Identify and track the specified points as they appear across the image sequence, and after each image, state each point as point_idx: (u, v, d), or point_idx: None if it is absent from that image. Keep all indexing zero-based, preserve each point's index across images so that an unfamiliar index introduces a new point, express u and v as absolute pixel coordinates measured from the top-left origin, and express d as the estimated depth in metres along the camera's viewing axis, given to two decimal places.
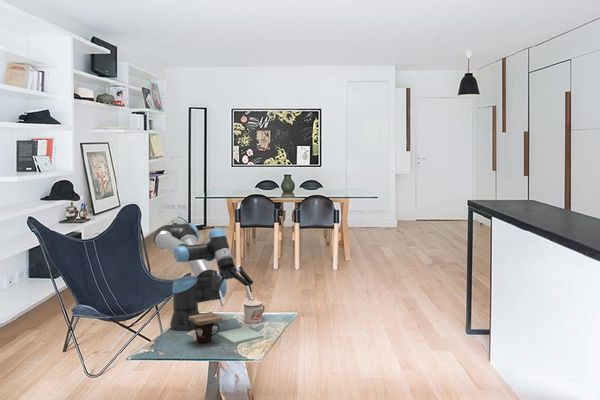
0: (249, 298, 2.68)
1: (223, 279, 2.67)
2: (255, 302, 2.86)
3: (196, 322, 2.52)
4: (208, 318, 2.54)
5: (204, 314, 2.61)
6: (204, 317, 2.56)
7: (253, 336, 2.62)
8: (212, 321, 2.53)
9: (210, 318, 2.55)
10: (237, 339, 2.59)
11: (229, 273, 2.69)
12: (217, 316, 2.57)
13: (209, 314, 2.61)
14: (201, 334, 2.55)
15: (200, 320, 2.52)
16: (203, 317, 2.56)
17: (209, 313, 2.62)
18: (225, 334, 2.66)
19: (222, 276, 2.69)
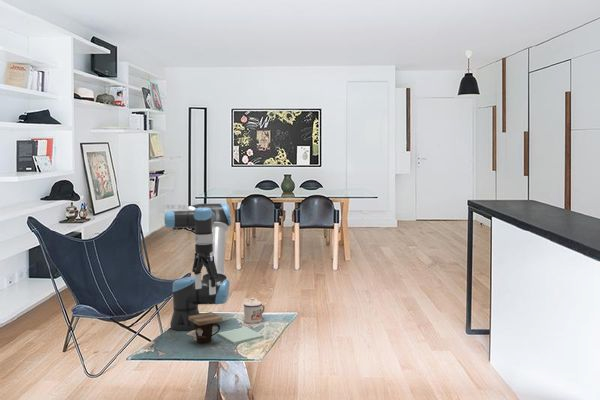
0: None
1: (198, 264, 2.58)
2: (255, 302, 2.86)
3: (196, 322, 2.52)
4: (208, 318, 2.54)
5: (204, 314, 2.61)
6: (204, 317, 2.56)
7: (253, 336, 2.62)
8: (212, 321, 2.53)
9: (210, 318, 2.55)
10: (237, 339, 2.59)
11: None
12: (217, 316, 2.57)
13: (209, 314, 2.61)
14: (201, 334, 2.55)
15: (200, 320, 2.52)
16: (203, 317, 2.56)
17: (209, 313, 2.62)
18: (225, 334, 2.66)
19: None
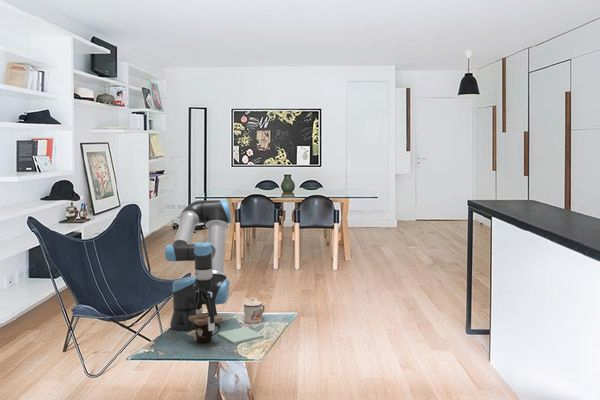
0: None
1: (198, 299, 2.59)
2: (255, 302, 2.86)
3: (196, 322, 2.52)
4: None
5: (204, 314, 2.61)
6: (204, 317, 2.56)
7: (253, 336, 2.62)
8: None
9: None
10: (237, 339, 2.59)
11: None
12: (217, 316, 2.57)
13: None
14: (201, 334, 2.55)
15: (200, 320, 2.52)
16: (203, 317, 2.56)
17: None
18: (225, 334, 2.66)
19: None
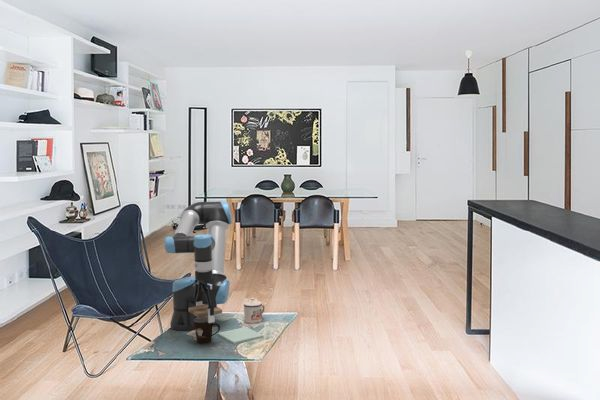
0: None
1: (198, 291, 2.58)
2: (255, 302, 2.86)
3: (196, 314, 2.52)
4: (207, 311, 2.54)
5: (204, 306, 2.61)
6: (204, 309, 2.56)
7: (253, 336, 2.62)
8: None
9: None
10: (237, 339, 2.59)
11: None
12: (217, 308, 2.57)
13: None
14: (201, 334, 2.55)
15: (200, 312, 2.52)
16: (203, 309, 2.56)
17: None
18: (225, 334, 2.66)
19: None
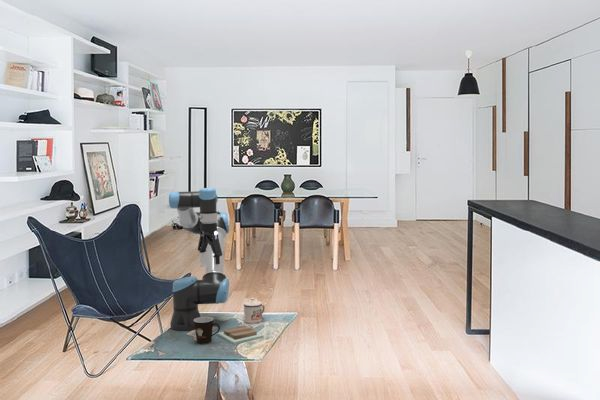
0: None
1: (203, 242, 2.67)
2: (255, 302, 2.86)
3: (232, 336, 2.60)
4: (243, 333, 2.62)
5: (238, 328, 2.69)
6: (239, 331, 2.64)
7: (253, 336, 2.62)
8: (247, 335, 2.61)
9: (245, 332, 2.63)
10: (237, 339, 2.59)
11: (206, 238, 2.64)
12: (251, 330, 2.66)
13: (243, 328, 2.69)
14: (201, 334, 2.55)
15: (236, 334, 2.60)
16: (238, 331, 2.65)
17: (243, 327, 2.71)
18: None
19: None
